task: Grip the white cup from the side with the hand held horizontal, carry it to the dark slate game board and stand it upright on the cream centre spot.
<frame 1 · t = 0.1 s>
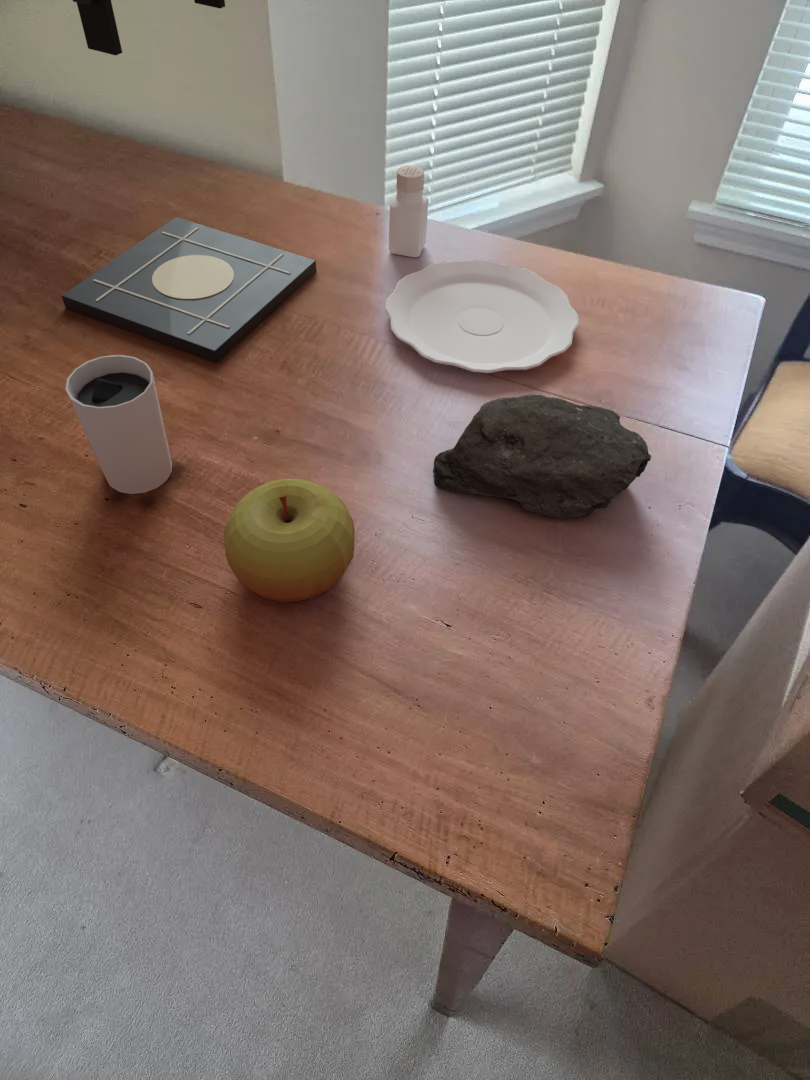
hand: (161, 26, 62), 27 cm above the table, tool pointing down, fingers open, 13 cm apart
board: (195, 289, 85), on the table
plate: (480, 324, 84), on the table
apple: (294, 571, 61), on the table
salt shaker: (406, 250, 93), on the table
white cup: (139, 472, 67), on the table
stone: (533, 489, 68), on the table
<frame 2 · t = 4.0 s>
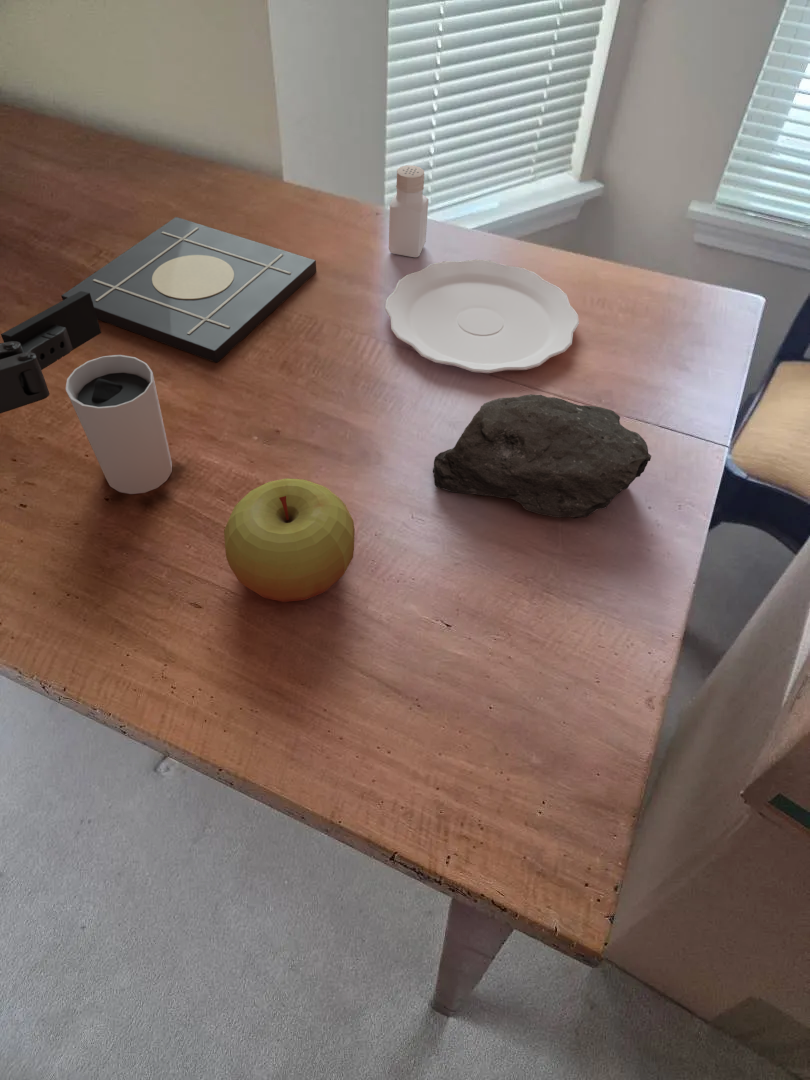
hand: (12, 293, 50), 19 cm above the table, tool horizontal, fingers open, 13 cm apart
nothing on the table moved.
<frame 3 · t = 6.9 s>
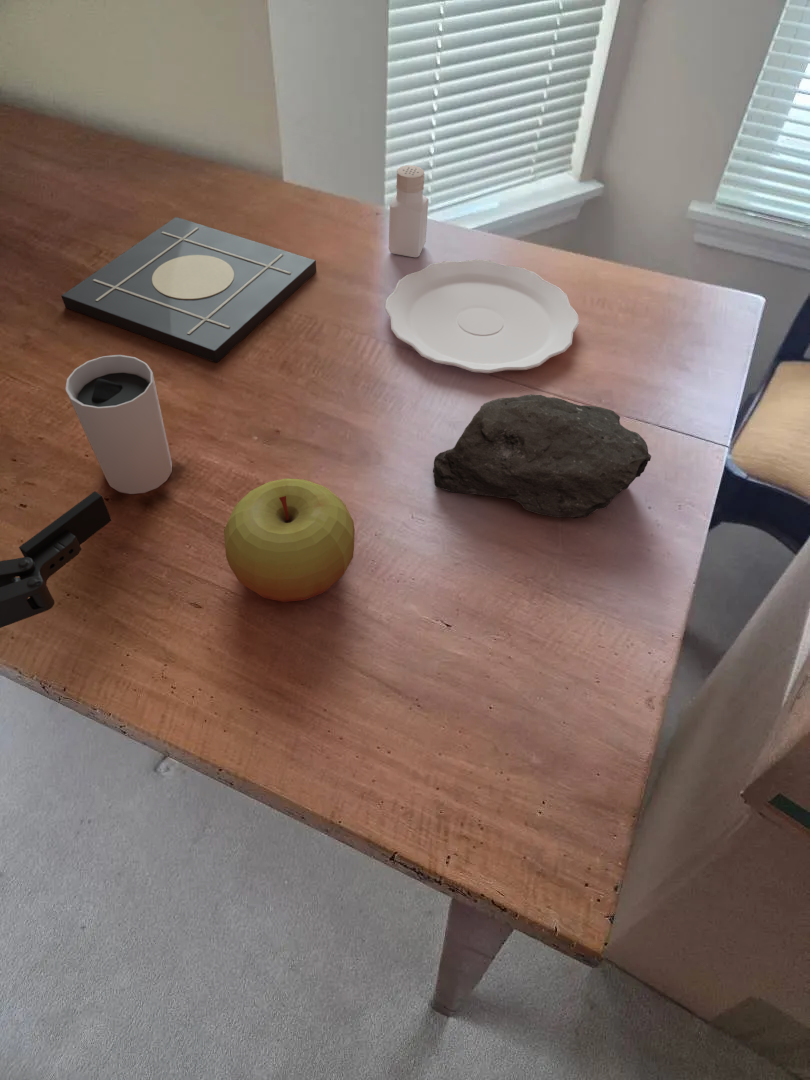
hand: (42, 466, 57), 7 cm above the table, tool horizontal, fingers open, 13 cm apart
nothing on the table moved.
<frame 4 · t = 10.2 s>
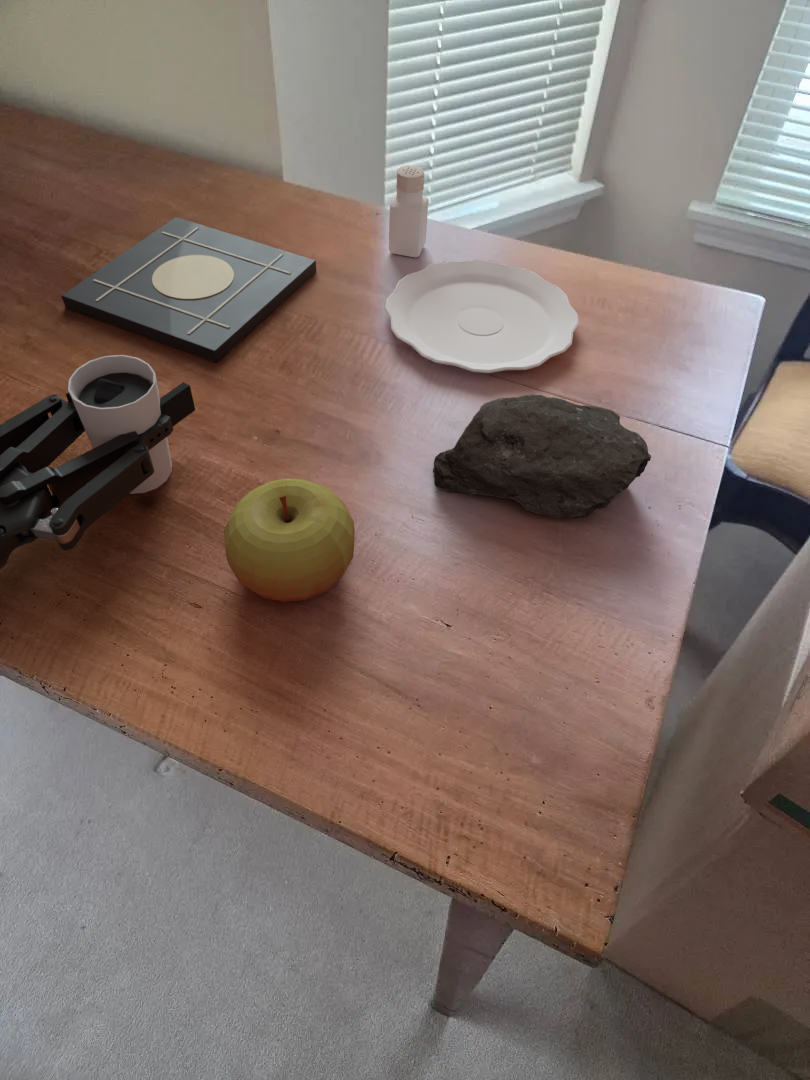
hand: (169, 386, 65), 6 cm above the table, tool horizontal, fingers closed on white cup, 4 cm apart
white cup: (139, 471, 67), on the table, touching gripper
everything else where it was.
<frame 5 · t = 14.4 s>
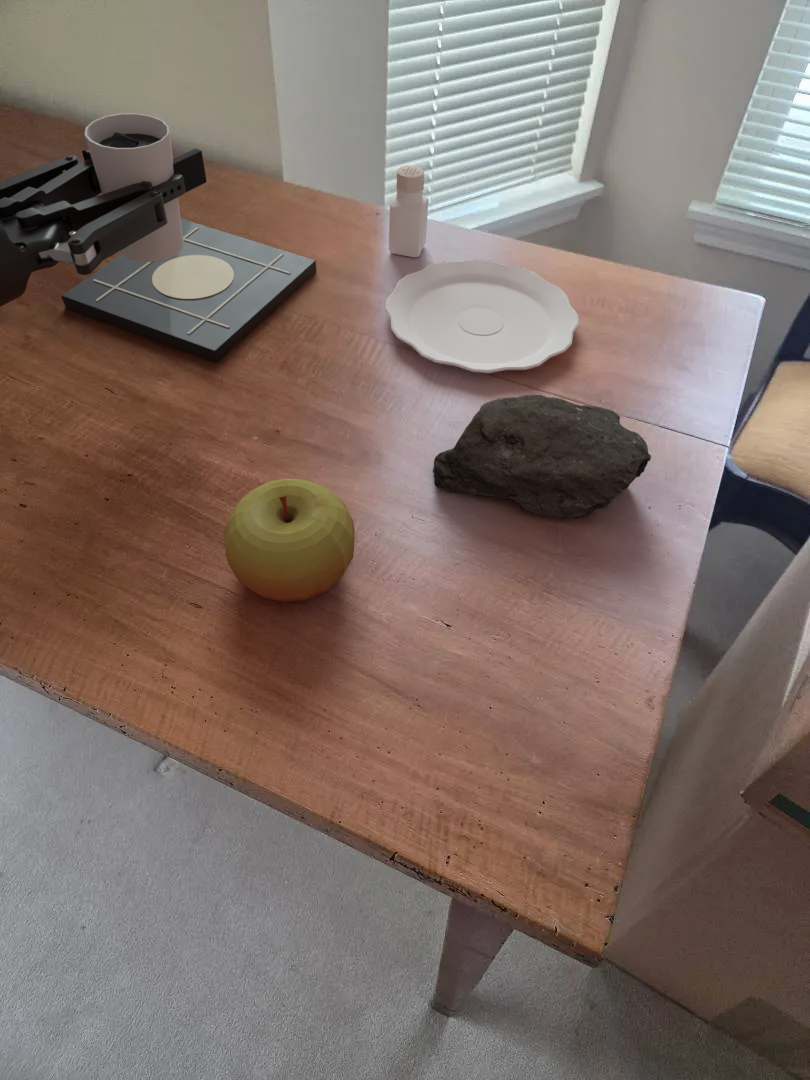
hand: (181, 158, 67), 18 cm above the table, tool horizontal, fingers closed on white cup, 4 cm apart
white cup: (151, 247, 69), point 12 cm above the table, touching gripper
everything else where it was.
when the fingers open (8 cm above the table, at t = 18.9 s): white cup stays where it is, resting on board.
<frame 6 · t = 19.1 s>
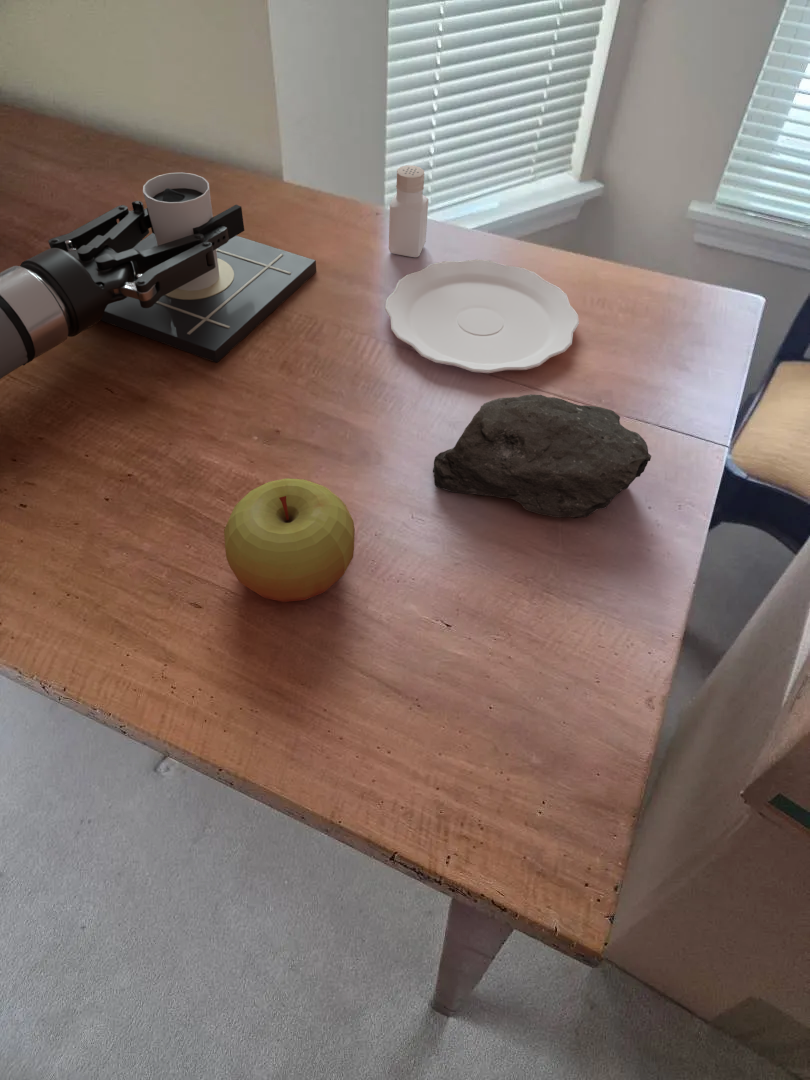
hand: (217, 208, 82), 7 cm above the table, tool horizontal, fingers open, 6 cm apart
white cup: (193, 278, 84), point 1 cm above the table, touching board
everything else where it was.
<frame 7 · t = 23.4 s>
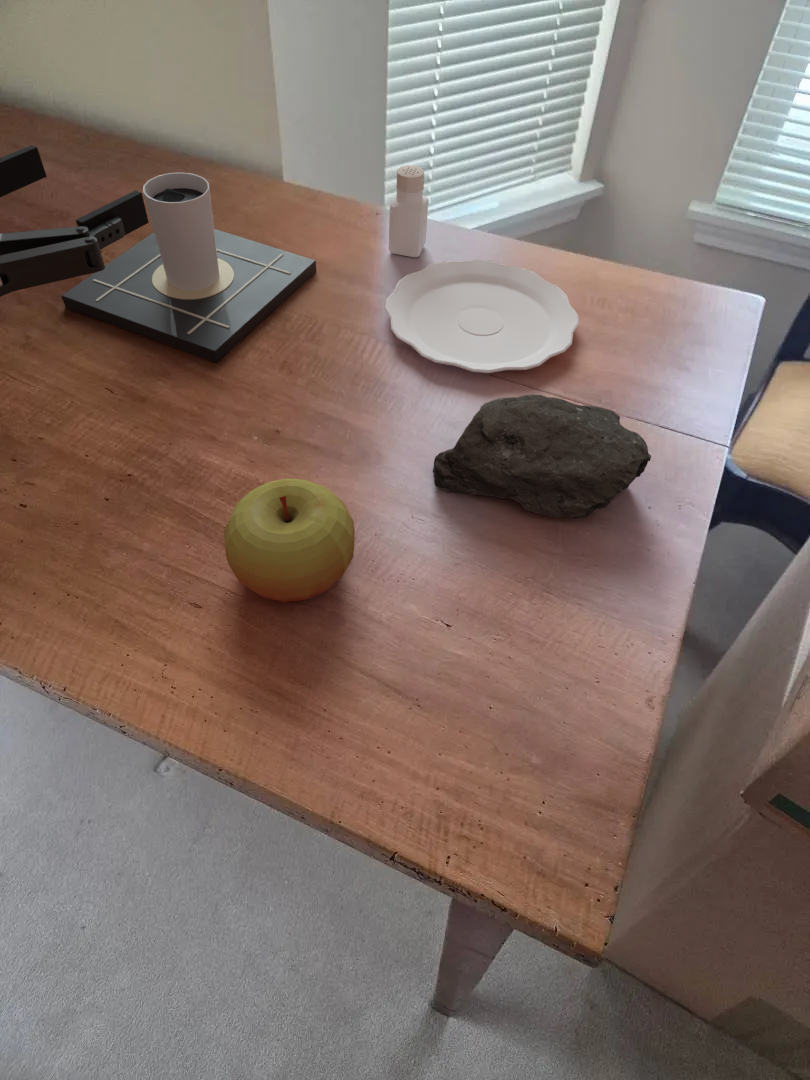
hand: (89, 182, 68), 16 cm above the table, tool horizontal, fingers open, 13 cm apart
nothing on the table moved.
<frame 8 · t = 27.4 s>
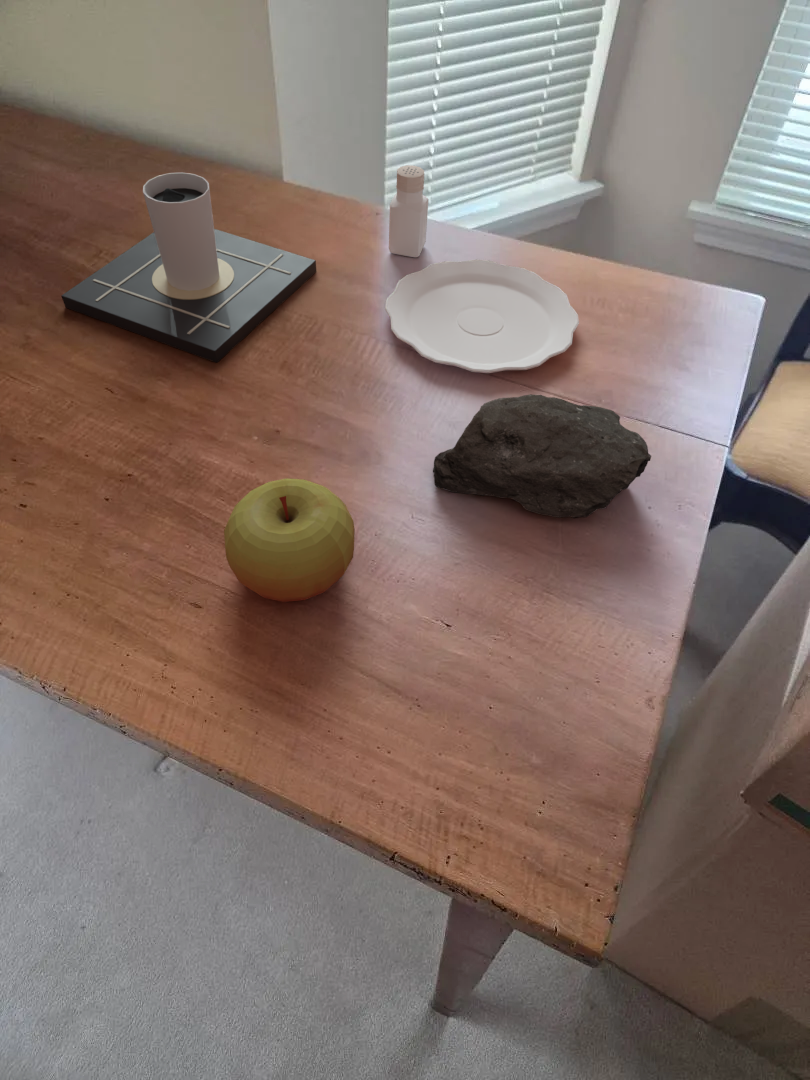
nothing on the table moved.
at the end: white cup 0.1 cm off-centre on the board, point 1.4 cm above the board's base; white cup tilted 0°; the gripper is holding nothing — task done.
